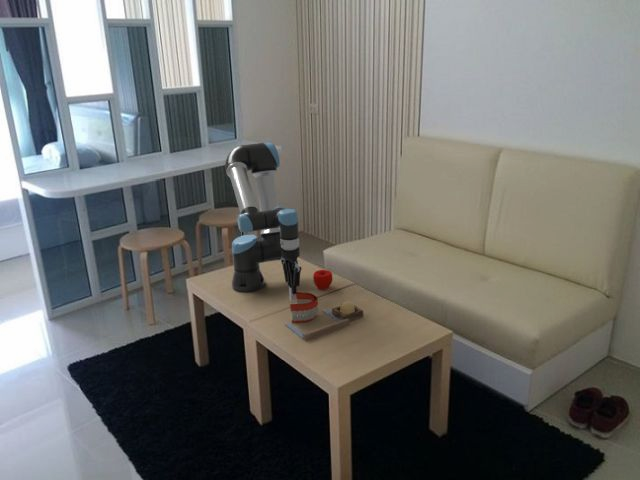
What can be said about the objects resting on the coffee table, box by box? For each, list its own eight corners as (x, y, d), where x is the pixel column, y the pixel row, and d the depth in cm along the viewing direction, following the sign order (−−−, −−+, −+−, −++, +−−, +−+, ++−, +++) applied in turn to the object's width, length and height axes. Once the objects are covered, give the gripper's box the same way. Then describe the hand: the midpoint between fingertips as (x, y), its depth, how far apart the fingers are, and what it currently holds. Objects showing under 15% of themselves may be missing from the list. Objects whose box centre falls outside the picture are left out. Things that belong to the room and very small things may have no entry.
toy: (316, 324, 228) (315, 306, 225) (290, 323, 229) (289, 305, 227) (321, 309, 239) (320, 292, 237) (296, 309, 241) (295, 291, 238)
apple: (336, 288, 258) (336, 272, 256) (320, 293, 254) (319, 277, 251) (326, 282, 266) (325, 266, 263) (310, 287, 261) (309, 271, 259)
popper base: (332, 315, 235) (332, 308, 234) (350, 309, 239) (350, 302, 238) (344, 323, 227) (344, 316, 226) (363, 317, 232) (363, 310, 231)
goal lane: (285, 325, 228) (284, 319, 228) (327, 310, 239) (327, 305, 238) (305, 340, 216) (304, 335, 215) (349, 325, 226) (349, 319, 225)
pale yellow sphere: (337, 314, 234) (336, 301, 232) (349, 310, 237) (348, 297, 235) (345, 320, 229) (345, 306, 227) (357, 315, 232) (357, 302, 230)
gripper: (274, 245, 235) (278, 297, 243) (289, 253, 225) (293, 307, 233) (290, 241, 239) (293, 292, 247) (306, 249, 229) (309, 303, 237)
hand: (293, 299), depth 240 cm, fingers closed
